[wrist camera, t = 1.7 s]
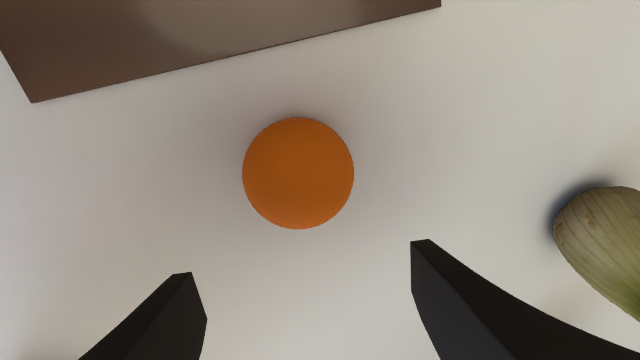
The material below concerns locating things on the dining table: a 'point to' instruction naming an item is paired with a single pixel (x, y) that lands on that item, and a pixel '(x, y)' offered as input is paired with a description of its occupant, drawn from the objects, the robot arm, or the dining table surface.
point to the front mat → (161, 35)
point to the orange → (298, 173)
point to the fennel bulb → (604, 242)
